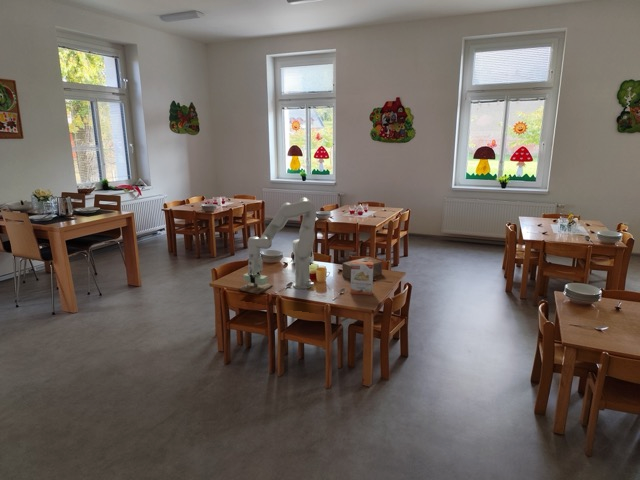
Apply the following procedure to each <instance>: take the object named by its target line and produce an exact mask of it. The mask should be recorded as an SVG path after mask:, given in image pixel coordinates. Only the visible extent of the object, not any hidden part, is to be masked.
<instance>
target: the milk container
mask: <svg viewBox="0 0 640 480" xmlns="http://www.w3.org/2000/svg"><path fill="white" fill-rule="evenodd" d="M299 239H300V238H298V239H294V240H293V241H292V255H291V261H292V263H293V264H295V244H296V243H297V242H298V241H299ZM313 249H314V246H313V247H312V251H311V254H310V256H309V261H310V264H309V265H311V264H313V262H314V260H315V259H314V258H315V256H314V252H313Z"/></svg>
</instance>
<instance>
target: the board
mask: <svg viewBox="0 0 640 480" xmlns="http://www.w3.org/2000/svg"><path fill="white" fill-rule="evenodd" d="M246 284H247V289H245V284H244V285H242V286H240V287H238V291H243V292H246V293H251V294H256V295H259V294H261V293H264V292H265V291H267V290H269V289H271V288H272V287H273V284H271V283H266V284H264V285H259V284H255V283H250V282H247V283H246Z"/></svg>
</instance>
